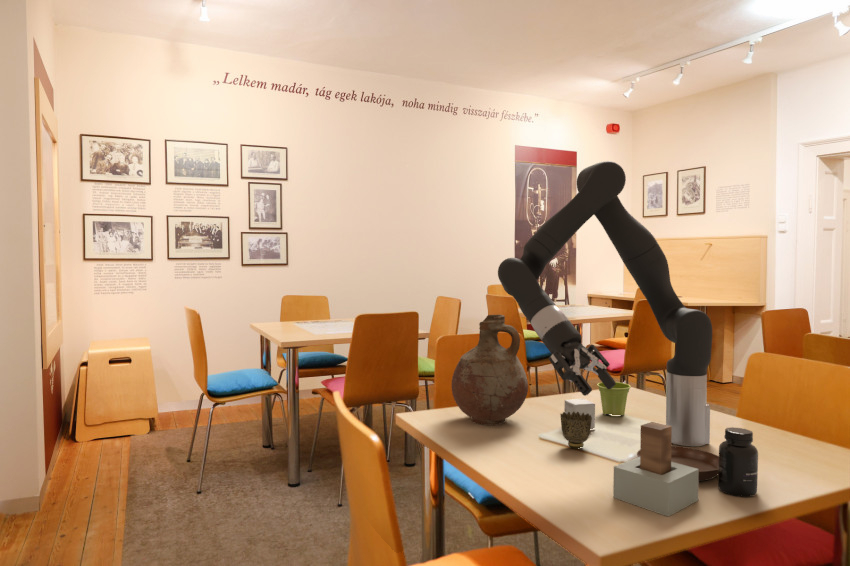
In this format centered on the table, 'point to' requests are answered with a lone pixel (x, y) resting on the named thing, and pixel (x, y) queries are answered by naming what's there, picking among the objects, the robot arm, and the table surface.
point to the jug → (490, 376)
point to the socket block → (656, 487)
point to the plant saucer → (695, 460)
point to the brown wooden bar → (655, 448)
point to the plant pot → (614, 398)
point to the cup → (575, 428)
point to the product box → (581, 408)
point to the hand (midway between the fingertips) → (600, 390)
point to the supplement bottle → (738, 463)
